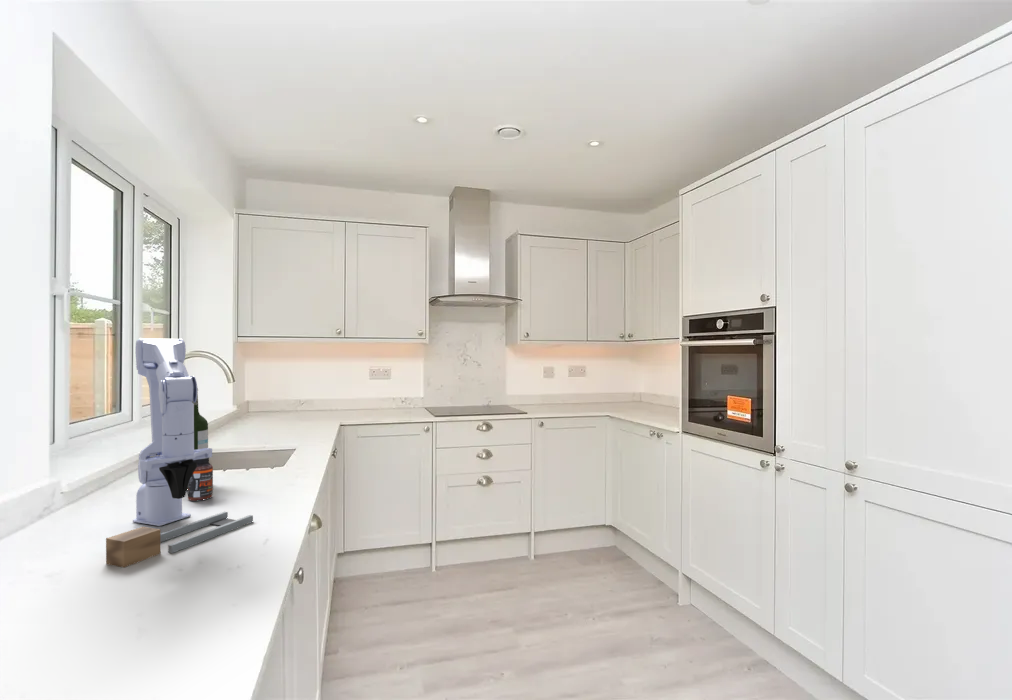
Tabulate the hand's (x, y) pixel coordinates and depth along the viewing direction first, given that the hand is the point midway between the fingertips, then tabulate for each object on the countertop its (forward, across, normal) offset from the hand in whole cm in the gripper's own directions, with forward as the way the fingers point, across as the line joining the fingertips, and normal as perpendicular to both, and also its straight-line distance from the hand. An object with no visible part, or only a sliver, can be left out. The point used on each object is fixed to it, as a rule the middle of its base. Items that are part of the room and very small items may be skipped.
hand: (178, 497), depth 109 cm
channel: (+9, +5, 0) cm, 11 cm away
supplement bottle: (+10, +25, +26) cm, 37 cm away
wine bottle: (+10, +32, +39) cm, 51 cm away
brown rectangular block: (+10, -9, 0) cm, 13 cm away
